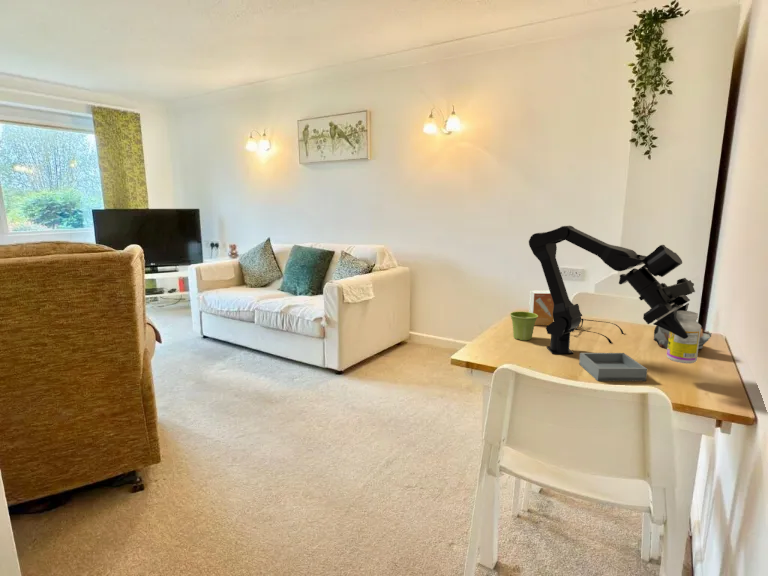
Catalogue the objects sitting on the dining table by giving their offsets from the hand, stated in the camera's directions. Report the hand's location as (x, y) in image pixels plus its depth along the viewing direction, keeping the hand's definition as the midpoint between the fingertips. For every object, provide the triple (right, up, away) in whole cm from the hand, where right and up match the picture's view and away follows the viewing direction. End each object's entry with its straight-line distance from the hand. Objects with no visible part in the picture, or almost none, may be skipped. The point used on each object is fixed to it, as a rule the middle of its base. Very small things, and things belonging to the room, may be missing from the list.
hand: (690, 335), depth 112 cm
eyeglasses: (-3, -5, +45) cm, 45 cm away
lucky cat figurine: (+17, -8, +29) cm, 35 cm away
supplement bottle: (-1, -7, +2) cm, 7 cm away
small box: (-17, -2, +60) cm, 63 cm away
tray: (-15, -12, +10) cm, 22 cm away
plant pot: (-30, -6, +42) cm, 52 cm away
